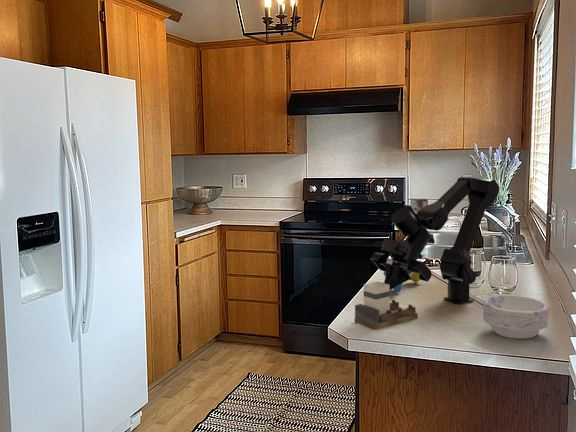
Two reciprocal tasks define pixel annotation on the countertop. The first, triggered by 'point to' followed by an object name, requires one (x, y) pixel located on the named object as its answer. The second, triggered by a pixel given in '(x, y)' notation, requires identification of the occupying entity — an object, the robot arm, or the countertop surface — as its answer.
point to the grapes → (397, 288)
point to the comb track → (383, 315)
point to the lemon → (415, 277)
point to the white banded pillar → (377, 296)
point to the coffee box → (418, 204)
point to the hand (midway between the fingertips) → (384, 291)
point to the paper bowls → (515, 315)
